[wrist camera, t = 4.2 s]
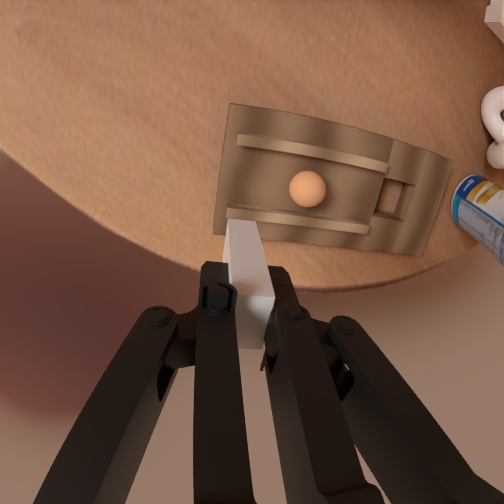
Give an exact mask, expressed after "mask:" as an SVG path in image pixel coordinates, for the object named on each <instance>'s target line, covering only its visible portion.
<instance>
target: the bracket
mask: <svg viewBox="0 0 504 504" xmlns="http://www.w3.org/2000/svg"><path fill="white" fill-rule="evenodd" d="M484 23H485V24H486V25H487V26H488V27H489V28H490V29H491V30H492V31H493V32H494V33H495V34H496V35H497V37H498V38H499V39H500V40H501V41H502V42H503V43H504V0H491V4H490V6H487V9H486V14H485V19H484Z"/></svg>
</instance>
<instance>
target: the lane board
mask: <svg viewBox="0 0 504 504" xmlns="http://www.w3.org/2000/svg"><path fill="white" fill-rule="evenodd" d="M453 162H454V161H452V160H449V159H447V158H445V157H443V156H440V155H438V154H435V153H433V152H430V151H427V150H425V149H422V148H419V147H416V146H413V145H411V144H408V143H405V142H402V141H399V140H396V139H392V138H389V137H386V136H383V135H380V134H376V133H373V132H369V131H366V130H362V129H359V128H355V127H351V126H348V125H344V124H340V123H336V122H332V121H327V120H323V119H319V118H314V117H310V116H305V115H300V114H295V113H290V112H285V111H279V110H273V109H267V108H261V107H255V106H248V105H241V104H233V103H230V105H229V111H228V118H227V125H226V131H225V138H224V145H223V152H222V160H221V167H220V175H219V183H218V191H217V199H216V207H215V215H214V225H213V234H214V235H224V236H226V230H227V222H228V218H229V219H239V220H249V221H256V224H257V228H258V232H259V236H260V239H266V240H276V241H285V242H295V243H305V244H314V245H324V246H333V247H343V248H352V249H361V250H370V251H379V252H388V253H396V254H405V255H414V256H420V255H421V253H422V250H423V248H424V246H425V243H426V241H427V238H428V236H429V233H430V230H431V228H432V225H433V223H434V220H435V217H436V215H437V212H438V209H439V206H440V203H441V200H442V197H443V194H444V191H445V188H446V185H447V182H448V179H449V176H450V172H451V169H452V165H453ZM302 171H313V172H315V173H317V174H319V175H320V176H321V177H322V179H323V180H324V182H325V185H326V194H325V197H324V198H323V200H322V201H321V202H320V203H319V204H318V205H316V206H313V207H303V206H300V205H298V204H297V203H296V202H295V201H294V200H293V199H292V197H291V195H290V191H289V186H290V182H291V180H292V178H293V177H294V176H295V175H296V174H298V173H299V172H302ZM384 177H386V178H390V179H394V180H397V181H401V182H404V185H403V188H402V191H401V194H400V197H399V201H398V204H397V207H396V210H395V213H390V212H385V211H379V210H375V207H376V203H377V200H378V197H379V194H380V190H381V187H382V183H383V180H384Z"/></svg>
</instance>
